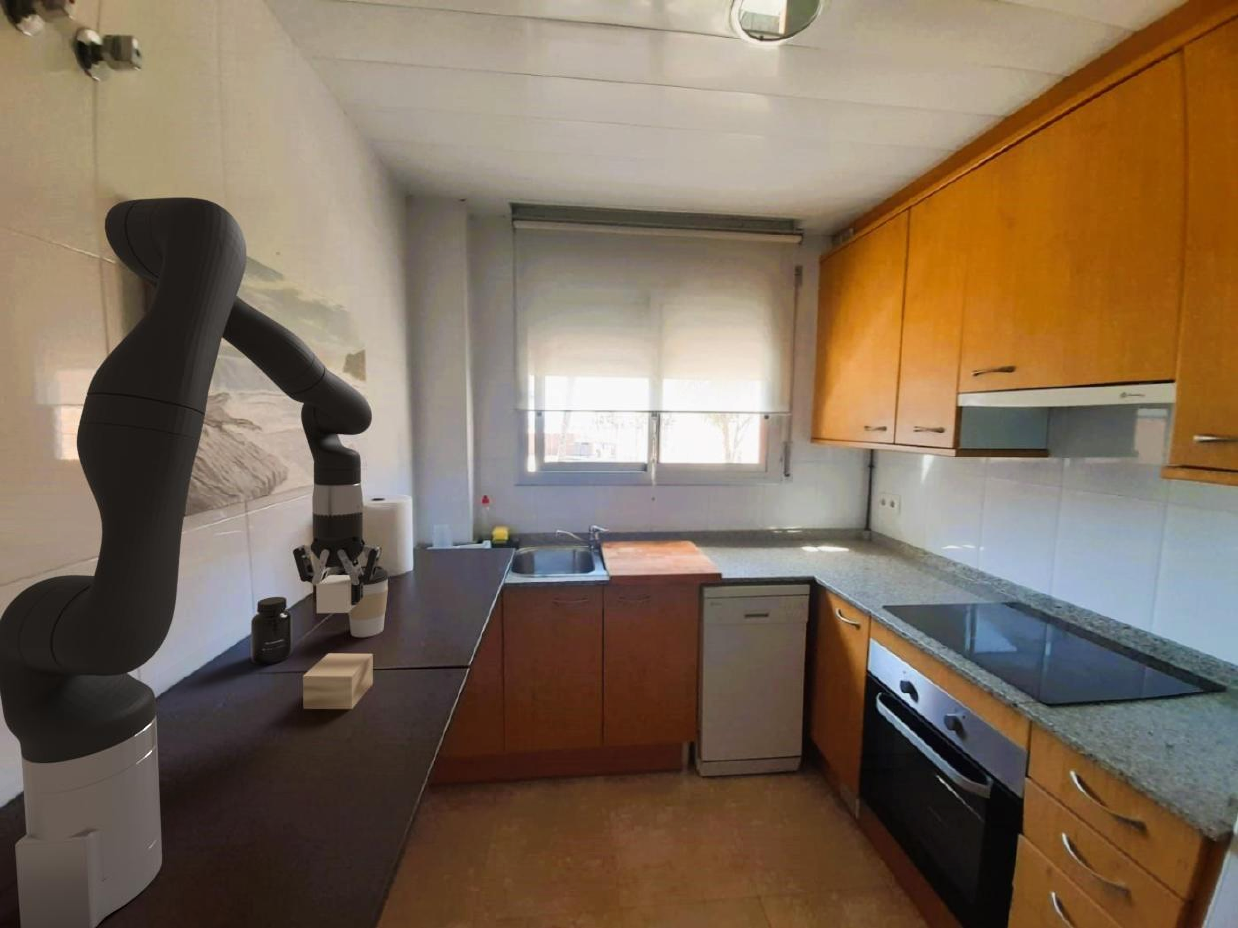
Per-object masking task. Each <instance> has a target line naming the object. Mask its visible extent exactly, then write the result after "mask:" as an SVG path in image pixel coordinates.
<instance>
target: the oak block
mask: <svg viewBox="0 0 1238 928" xmlns="http://www.w3.org/2000/svg"><path fill="white" fill-rule="evenodd" d="M373 656H374V654H373V653H345V652H344V653H341V652H340V653H336V652H335V653H334V652H333V653H332V652H330V653H329V652H328V653H327V654H326V655H325V656H324V657H322V659H320V660H319V661H318V662H317V663H315V665H313V666H312V667H311V668H310V669H309V670H307V672H306V673H304V675H302V690H303V691H302V692H303V693H302V699H303V700H302V701H303V702H302V703H303V709H304V710H323V709H324V710H353V709H354V707H355V706H356V705H357V703H358V702H359V701H360V700H361V698H363V696H365V694H366V692H368V690H369V689H370V687H372V686H373V684H374V673H373V671H374V669H373V668H374V667H373V666H374V665H373V664H374V663H373V661H374V660H373V659H374V657H373Z"/></svg>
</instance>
